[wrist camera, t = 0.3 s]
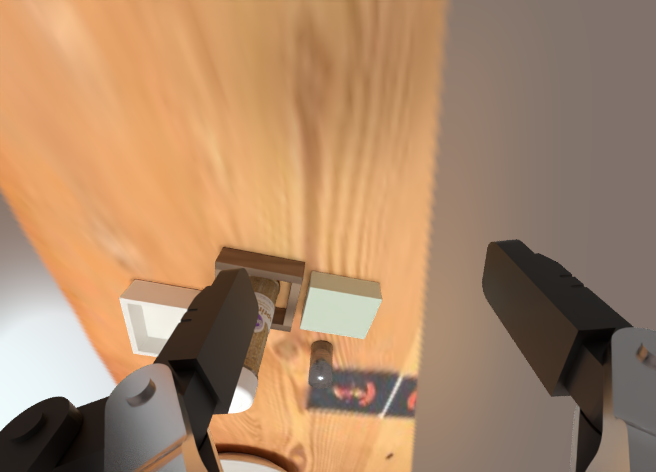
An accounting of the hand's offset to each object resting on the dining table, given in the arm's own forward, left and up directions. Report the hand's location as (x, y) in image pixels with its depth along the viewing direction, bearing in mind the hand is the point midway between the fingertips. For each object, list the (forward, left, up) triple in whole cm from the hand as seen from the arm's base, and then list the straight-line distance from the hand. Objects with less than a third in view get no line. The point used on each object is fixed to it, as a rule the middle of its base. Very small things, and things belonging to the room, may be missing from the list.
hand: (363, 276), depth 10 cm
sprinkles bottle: (+19, -6, -18) cm, 26 cm away
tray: (+27, -15, -18) cm, 35 cm away
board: (+19, +4, -18) cm, 26 cm away
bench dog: (+29, +4, -18) cm, 34 cm away
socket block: (+19, -6, -18) cm, 26 cm away
